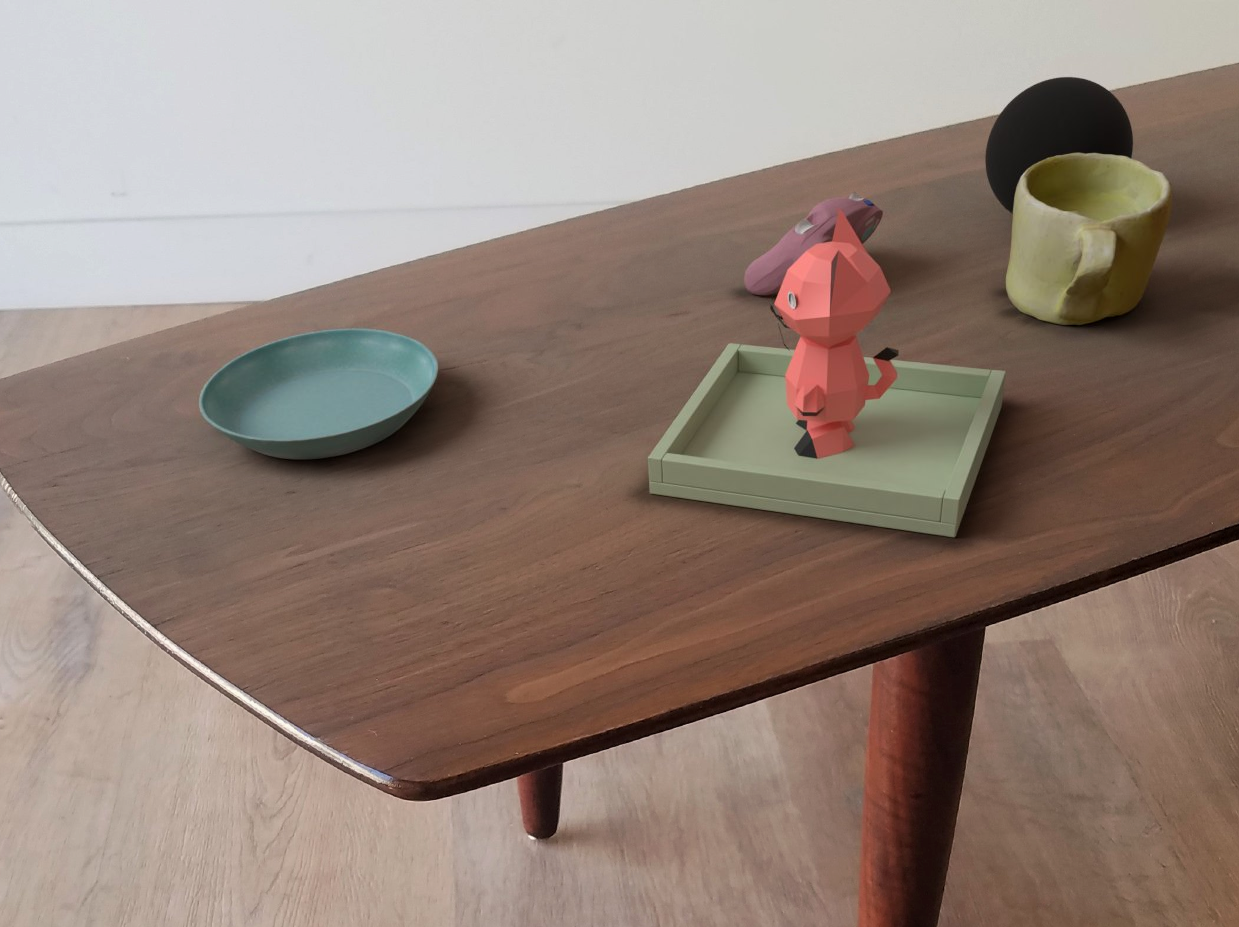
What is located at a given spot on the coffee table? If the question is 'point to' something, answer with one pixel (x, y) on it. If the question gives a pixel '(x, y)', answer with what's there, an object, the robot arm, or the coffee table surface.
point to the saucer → (320, 392)
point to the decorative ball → (1053, 130)
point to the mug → (1085, 236)
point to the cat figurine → (832, 339)
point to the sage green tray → (841, 483)
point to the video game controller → (810, 240)
